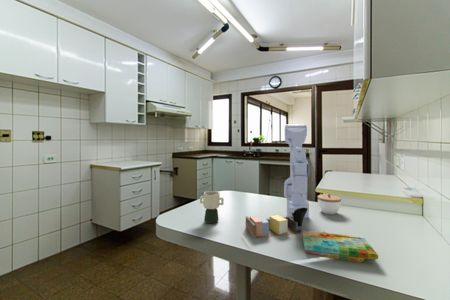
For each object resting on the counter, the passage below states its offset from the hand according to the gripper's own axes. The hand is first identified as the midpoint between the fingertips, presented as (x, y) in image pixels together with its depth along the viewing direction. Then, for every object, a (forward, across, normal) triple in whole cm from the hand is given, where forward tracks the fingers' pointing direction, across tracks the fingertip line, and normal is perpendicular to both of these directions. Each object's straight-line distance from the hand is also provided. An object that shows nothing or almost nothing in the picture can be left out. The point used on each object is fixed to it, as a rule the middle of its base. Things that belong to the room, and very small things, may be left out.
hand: (298, 225), depth 87 cm
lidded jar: (+2, -32, +2) cm, 32 cm away
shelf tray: (+2, +8, -6) cm, 10 cm away
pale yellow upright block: (+1, +7, -5) cm, 9 cm away
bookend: (+1, +1, -1) cm, 2 cm away
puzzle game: (+3, +7, +16) cm, 18 cm away
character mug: (+2, +17, -32) cm, 37 cm away
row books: (+1, +14, -10) cm, 17 cm away
